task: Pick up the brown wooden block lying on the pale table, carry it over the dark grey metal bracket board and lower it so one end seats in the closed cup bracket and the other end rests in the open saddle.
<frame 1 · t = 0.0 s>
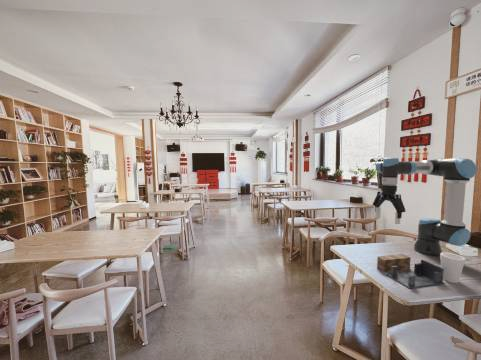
hand: (387, 220, 130), 28 cm above the table, fingers open, 13 cm apart
bracket board: (414, 279, 118), on the table
foam cup: (450, 280, 118), on the table
brown wooden block: (393, 268, 131), on the table
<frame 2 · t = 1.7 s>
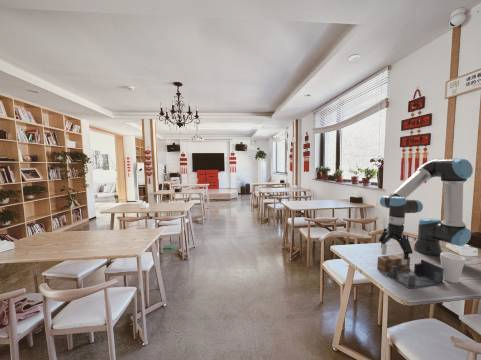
hand: (393, 259, 130), 6 cm above the table, fingers open, 13 cm apart
nothing on the table moved.
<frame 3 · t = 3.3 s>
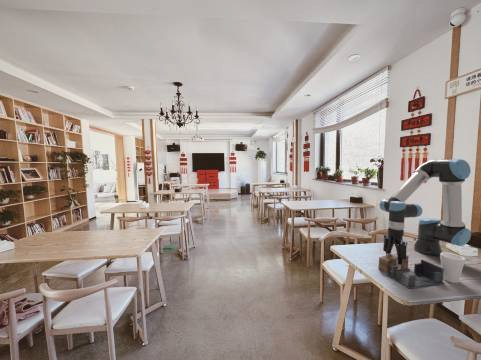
hand: (393, 266, 131), 1 cm above the table, fingers closed on brown wooden block, 6 cm apart
brown wooden block: (393, 268, 131), on the table, touching gripper
everything else where it was.
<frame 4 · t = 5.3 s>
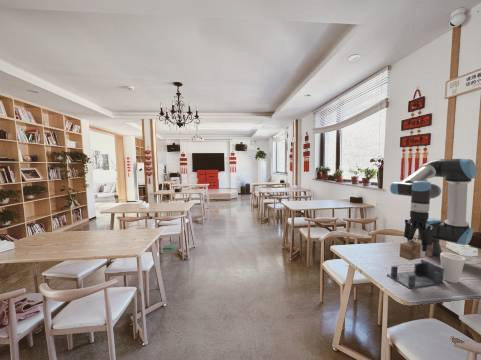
hand: (416, 254, 117), 14 cm above the table, fingers closed on brown wooden block, 5 cm apart
brown wooden block: (416, 255, 117), point 13 cm above the table, touching gripper
everything else where it was.
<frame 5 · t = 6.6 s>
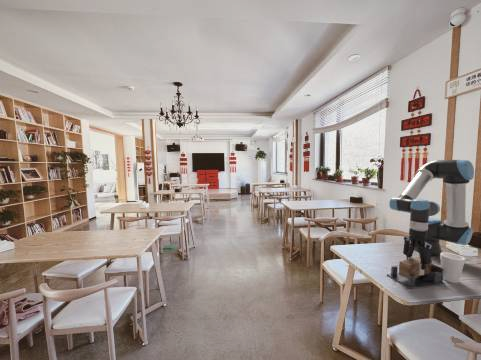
hand: (415, 271, 118), 4 cm above the table, fingers closed on brown wooden block, 5 cm apart
brown wooden block: (415, 273, 118), point 3 cm above the table, touching gripper
everything else where it was.
when the fingers open (3 cm above the table, at t = 7.5 s): brown wooden block drops 1 cm, resting on bracket board.
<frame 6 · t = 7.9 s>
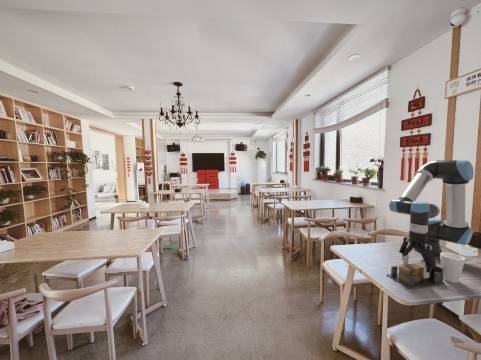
hand: (415, 272, 118), 4 cm above the table, fingers open, 10 cm apart
brown wooden block: (414, 278, 118), point 1 cm above the table, touching bracket board
everything else where it was.
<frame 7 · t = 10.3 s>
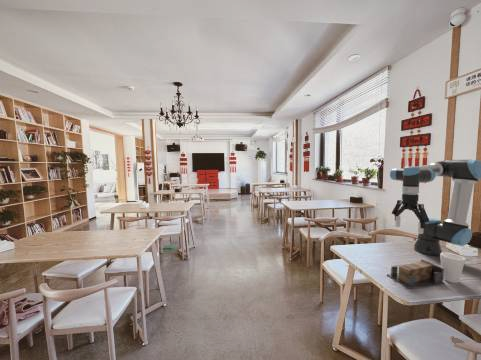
hand: (408, 229, 129), 23 cm above the table, fingers open, 13 cm apart
nothing on the table moved.
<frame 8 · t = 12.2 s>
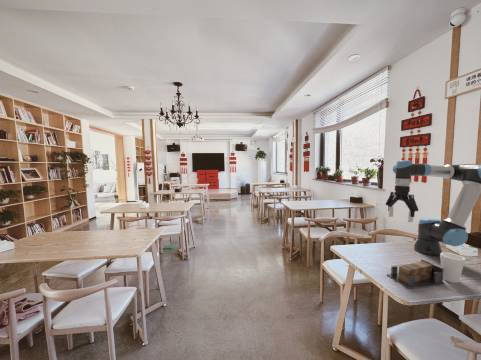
hand: (400, 219, 139), 27 cm above the table, fingers open, 13 cm apart
nothing on the table moved.
at the end: brown wooden block 0.0 cm off-centre on the bracket board, point 0.6 cm above the bracket board's base; brown wooden block tilted 0°; the gripper is holding nothing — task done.
